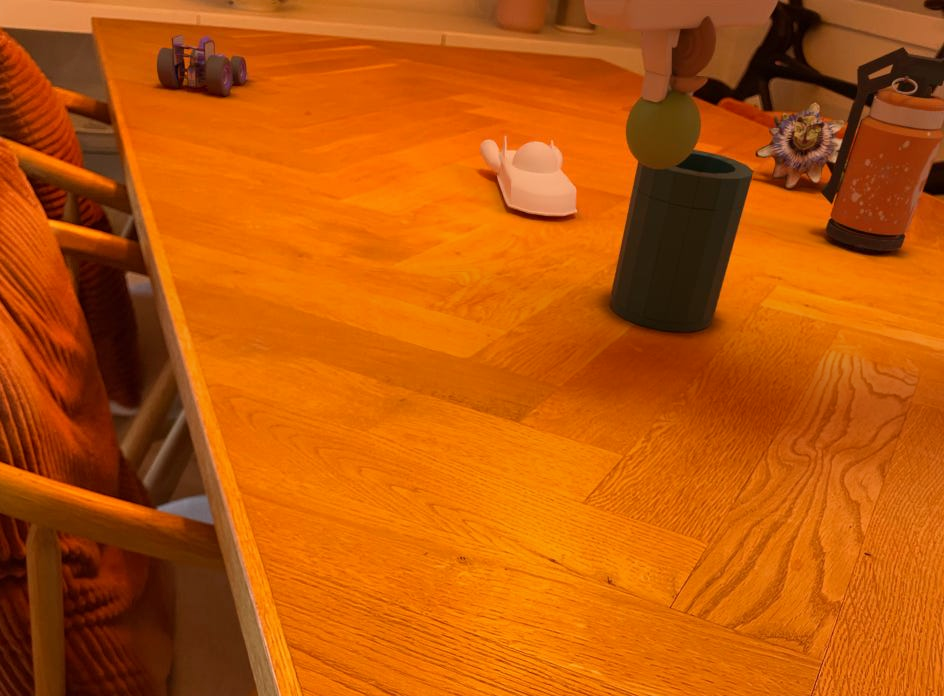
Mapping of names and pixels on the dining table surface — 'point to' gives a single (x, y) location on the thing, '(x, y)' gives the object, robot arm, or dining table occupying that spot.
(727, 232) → the jar
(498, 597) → the dining table surface
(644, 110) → the snail figurine
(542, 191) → the white domed toy
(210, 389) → the dining table surface
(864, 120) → the canister
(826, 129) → the passion flower
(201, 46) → the toy race car
